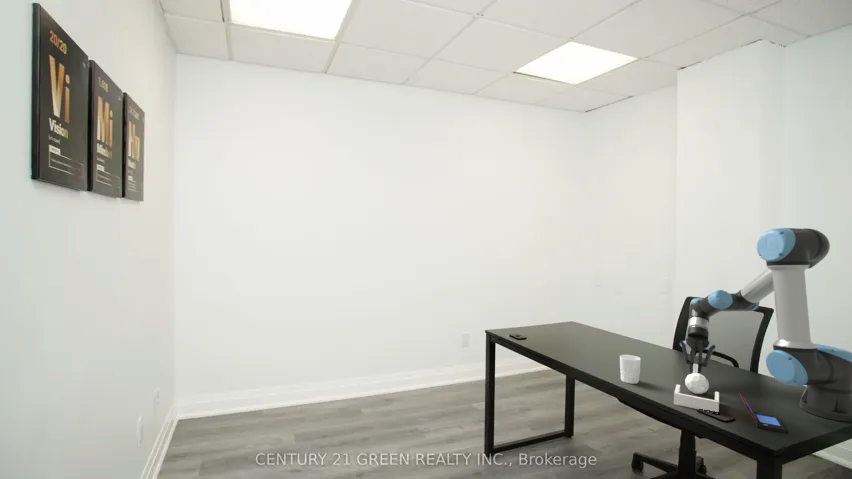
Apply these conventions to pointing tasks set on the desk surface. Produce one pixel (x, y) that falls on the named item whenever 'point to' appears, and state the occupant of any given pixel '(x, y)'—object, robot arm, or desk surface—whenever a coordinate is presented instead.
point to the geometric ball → (697, 383)
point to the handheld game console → (765, 419)
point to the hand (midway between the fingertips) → (694, 380)
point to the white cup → (630, 368)
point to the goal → (696, 401)
